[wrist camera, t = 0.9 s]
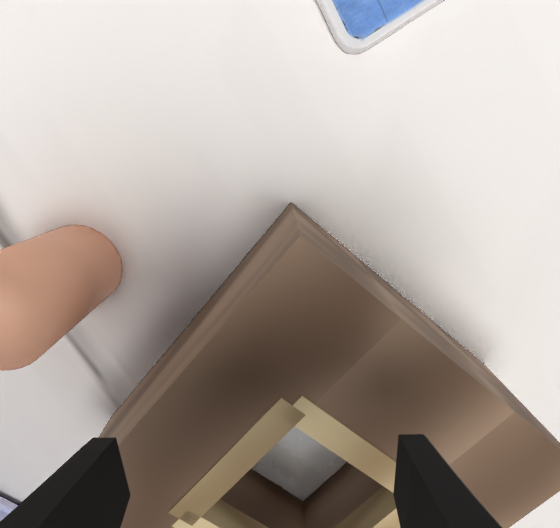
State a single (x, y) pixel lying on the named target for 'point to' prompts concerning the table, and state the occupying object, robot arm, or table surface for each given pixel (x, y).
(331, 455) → the plunger floor
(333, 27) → the tablet computer
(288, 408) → the socket block
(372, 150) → the table surface
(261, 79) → the table surface
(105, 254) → the peg
